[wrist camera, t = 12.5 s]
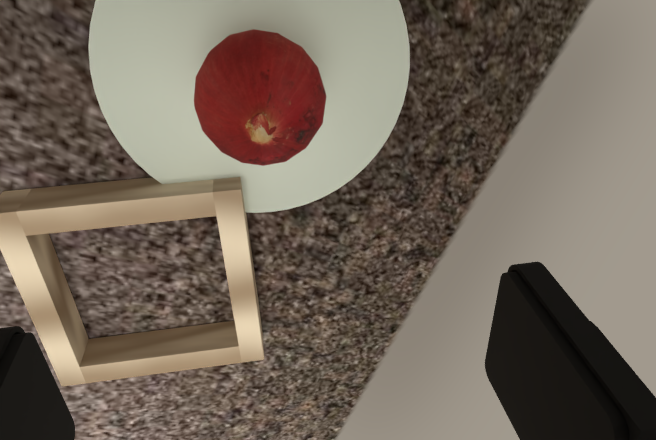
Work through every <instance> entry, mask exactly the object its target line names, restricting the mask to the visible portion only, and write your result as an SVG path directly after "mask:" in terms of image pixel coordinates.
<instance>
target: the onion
mask: <svg viewBox="0 0 656 440" xmlns="http://www.w3.org/2000/svg"><path fill="white" fill-rule="evenodd" d="M325 103H326V92H325V89H324V86H323V82H322V79H321V76H320V73H319V69H318V67H317V65H316V64H315V63H314V61H313V60H312V59H311V58H310V56H309V55H308V54H307V53H306V51H305V50H304V49H303V47H301V46H300V45H298V44H296V43H294V42H292V41H291V40H289V39H287V38H285V37H284V36H282V35H280V34H279V33H275V32H269V31H262V30H255V29H252V30H248V31H244V32H240V33H236V34H231V35H229V36H227V37H226V38H225V39H224V40H223V41H221V42H220V43H219V44H218V45H216V46H215V47H214V48H213V49H211V50H210V52H209V53H208V55H207V56H206V58H205V60H204V62H203V64H202V66H201V68H200V70H199V72H198V73H197V75H196V79H195V92H194V107H195V110H196V113H197V116H198V119H199V122H200V125H201V128H202V131H203V132H204V133H205V134H206V136H207V137H208V138H209V139H210V140H211V141H212V142H213V143H214V144H215V146H216V147H217V148H218V149H219V150H220V151H221V152H222V153H224V154H226V155H228V156H230V157H232V158H234V159H236V160H237V161H239V162H241V163H247V164H254V165H261V166H265V165H270V164H276V163H282V162H286V161H287V160H289V159H290V158H292V157H293V156H295V155H296V154H298V153H299V152H301V151H302V150H304V149H305V148H306V147H307V146H308V145H309V143H310V142H311V140H312V139H313V137H314V136H315V134H316V133H317V131H318V130H319V128H320V127H321V125H322V124H323V118H324V110H325Z"/></svg>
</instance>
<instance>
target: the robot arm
mask: <svg viewBox="0 0 656 440" xmlns="http://www.w3.org/2000/svg"><path fill="white" fill-rule="evenodd" d="M485 369H486V373H487V376H488V379H489V381H490V383H491V384H492V387H493V388H494V390H495V392H496V394H497V396H498V398H499V400H500V402H501V404H502V406H503V408H504V410H505V412H506V414H507V416H508V417H509V419H510V421H511V423H512V425H513V427H514V429H515V431H516V433H517V435H518V437H519V438H520V440H656V398H655V396H654V395H653V394H652V393H651V391H650V390H649V389H648V388H647V387H646V385H645V384H644V383H643V382H642V381H641V380H640V378H639V377H638V376H637V375H636V374H635V372H634V371H633V370H632V368H631V367H630V366H629V365H628V364H627V362H626V361H625V360H624V359H623V358H622V356H621V355H620V354H619V353H618V352H617V350H616V349H615V348H614V347H613V345H612V344H611V343H610V342H609V341H608V339H607V338H606V337H605V336H604V335H603V333H602V332H601V331H600V330H599V329H598V327H596V326H595V325H594V324H593V323H592V322H591V321H589V320H588V319H587V317H586V316H585V315H584V314H583V313H582V311H581V310H580V309H579V308H578V306H577V305H576V304H575V303H574V302H573V300H572V299H571V298H570V297H569V296H568V294H567V293H566V292H565V291H564V289H563V288H562V287H561V286H560V285H559V283H558V282H557V281H556V280H555V279H554V277H553V276H552V275H551V274H550V272H549V271H548V270H547V269H546V267H545V266H544V265H543V264H542V263H540V262H532V263H525V264H517V265H511V266H510V267H509V269H508V272H507V273H503V274H502V276H501V279H500V284H499V289H498V295H497V300H496V305H495V311H494V316H493V321H492V327H491V332H490V337H489V343H488V349H487V353H486V359H485ZM74 437H75V425H74V421H73V418H72V416H71V414H70V412H69V410H68V408H67V405H66V403H65V401H64V399H63V397H62V395H61V392H60V390H59V388H58V386H57V384H56V382H55V379H54V377H53V375H52V373H51V371H50V369H49V366H48V364H47V362H46V360H45V358H44V356H43V353H42V351H41V349H40V347H39V345H38V343H37V340H36V338H35V336H34V335H33V334H32V333H25V332H24V330H23V329H22V328H21V327H19V326H15V327H7V328H0V440H74Z"/></svg>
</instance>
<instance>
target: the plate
mask: <svg viewBox="0 0 656 440" xmlns="http://www.w3.org/2000/svg"><path fill="white" fill-rule="evenodd" d="M252 29H255V30H262V31H269V32H275V33H279V34H280V35H282V36H284V37H285V38H287V39H289V40H291V41H292V42H294V43H296V44H298V45H300V46H301V47H303V49H304V50H305V51H306V53H307V54H308V55H309V56H310V58H311V59H312V60H313V61H314V63H315V64H316V65H317V67H318V69H319V73H320V76H321V79H322V82H323V86H324V89H325V92H326V103H325V110H324V118H323V124H322V125H321V127H320V128H319V130H318V131H317V133H316V134H315V136H314V137H313V139H312V140H311V142H310V143H309V145H308V146H307V147H306V148H305V149H304V150H302V151H301V152H299V153H298V154H296V155H295V156H293V157H292V158H290V159H289V160H287V161H286V162H282V163H276V164H270V165H265V166H261V165H254V164H247V163H241V162H239V161H237V160H236V159H234V158H232V157H230V156H228V155H226V154H224V153H222V152H221V151H220V150H219V149H218V148H217V147H216V146H215V144H214V143H213V142H212V141H211V140H210V139H209V138H208V137H207V136H206V134H205V133H204V132H203V131H202V128H201V125H200V122H199V119H198V116H197V113H196V110H195V107H194V92H195V79H196V75H197V73H198V72H199V70H200V68H201V66H202V64H203V62H204V60H205V58H206V56H207V55H208V53H209V52H210V50H211V49H213V48H214V47H215V46H216V45H218V44H219V43H220V42H221V41H223V40H224V39H225V38H226V37H227V36H229V35H231V34H236V33H240V32H244V31H248V30H252ZM88 48H89V63H90V72H91V77H92V82H93V86H94V91H95V94H96V97H97V100H98V102H99V105H100V108H101V111H102V113H103V115H104V117H105V119H106V121H107V123H108V125H109V127H110V129H111V131H112V132H113V134H114V135H115V137H116V138H117V140H118V141H119V143H120V144H121V146H122V147H123V148H124V149H125V150H126V152H127V153H128V154H129V155H130V156H131V157H132V159H133V160H134V161H135V162H136V163H137V164H138V165H139V166H140V167H141V168H143V169H144V170H145V171H146V172H147V173H148V174H149V175H150V176H152V177H153V178H154V179H156V180H157V181H159V182H160V183H161V184H170V183H181V182H191V181H202V180H212V179H222V178H233V177H241V184H242V191H243V199H244V206H245V212H249V213H259V212H274V211H280V210H286V209H291V208H295V207H298V206H302V205H305V204H308V203H310V202H313V201H315V200H318V199H320V198H323V197H324V196H326V195H328V194H330V193H332V192H334V191H335V190H337V189H339V188H340V187H342V186H343V185H344V184H346V183H347V182H349V181H350V180H352V179H353V178H354V177H355V176H356V175H357V174H358V173H359V172H361V171H362V170H363V169H364V168H365V167H366V166H367V165H368V164H369V163H370V161H371V160H372V159H373V158H374V157H375V156H376V155H377V153H378V152H379V151H380V149H381V148H382V146H383V145H384V143H385V142H386V140H387V139H388V137H389V135H390V133H391V131H392V129H393V128H394V126H395V124H396V122H397V119H398V116H399V114H400V111H401V108H402V106H403V102H404V98H405V94H406V90H407V86H408V77H409V69H410V46H409V39H408V32H407V25H406V22H405V18H404V14H403V11H402V7H401V4H400V2H399V0H96V1H95V5H94V9H93V14H92V18H91V23H90V33H89V46H88Z"/></svg>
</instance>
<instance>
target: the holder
mask: <svg viewBox="0 0 656 440" xmlns="http://www.w3.org/2000/svg"><path fill="white" fill-rule="evenodd" d="M212 216H217V221H218V227H219V233H220V239H221V245H222V250H223V256H224V262H225V268H226V274H227V280H228V286H229V291H230V297H231V303H232V309H233V315H234V321H227V322H219V323H211V324H203V325H195V326H188V327H180V328H172V329H164V330H156V331H148V332H140V333H132V334H124V335H116V336H108V337H100V338H92V339H89V338H88V336H87V333H86V330H85V328H84V325H83V322H82V320H81V317H80V315H79V312H78V309H77V307H76V304H75V301H74V299H73V296H72V294H71V291H70V288H69V286H68V283H67V280H66V278H65V275H64V272H63V270H62V267H61V265H60V262H59V259H58V257H57V254H56V251H55V249H54V246H53V244H52V241H51V238H50V236H49V233H58V232H68V231H77V230H87V229H96V228H106V227H116V226H125V225H135V224H145V223H154V222H164V221H174V220H183V219H193V218H202V217H212ZM0 249H1V252H2V254H3V256H4V258H5V261H6V263H7V265H8V267H9V270H10V272H11V274H12V276H13V278H14V281H15V283H16V285H17V287H18V290H19V292H20V294H21V296H22V299H23V301H24V303H25V305H26V308H27V310H28V312H29V314H30V316H31V319H32V321H33V323H34V325H35V328H36V330H37V332H38V334H39V337H40V339H41V341H42V343H43V346H44V348H45V350H46V352H47V354H48V357H49V359H50V361H51V363H52V366H53V368H54V370H55V372H56V375H57V377H58V379H59V381H60V383H61V386H69V385H77V384H84V383H92V382H99V381H107V380H114V379H122V378H129V377H137V376H144V375H152V374H159V373H167V372H174V371H181V370H189V369H196V368H204V367H211V366H219V365H226V364H234V363H241V362H249V361H256V360H264V348H263V332H262V325H261V318H260V310H259V303H258V295H257V288H256V281H255V273H254V266H253V258H252V251H251V244H250V236H249V229H248V221H247V214H246V212H245V206H244V199H243V191H242V184H241V177H233V178H222V179H212V180H202V181H191V182H181V183H170V184H161V183H160V182H159V181H157V180H156V179H154V178H153V177H149V178H139V179H128V180H118V181H107V182H97V183H86V184H75V185H65V186H54V187H44V188H33V189H23V190H12V191H3V192H2V193H1V195H0Z"/></svg>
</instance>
